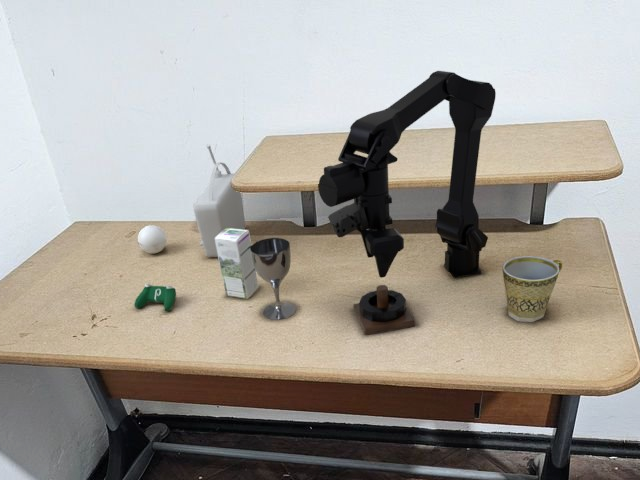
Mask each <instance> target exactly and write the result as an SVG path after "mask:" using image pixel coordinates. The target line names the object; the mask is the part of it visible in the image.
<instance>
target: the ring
mask: <svg viewBox="0 0 640 480" xmlns="http://www.w3.org/2000/svg"><path fill="white" fill-rule="evenodd" d="M358 303H359V308H360V313H361V315H362V316H363V318H365V319H368V320H370V321H374V322H388V321H393V320H397V319H398V318H400V317H401V316H403V315H404V314H405V311H406V306H407V299H406V298H405V296H404V294H403V293H401V292H398V291H396V290H392V289H388V304H391V305H392V306H391V307H386V308H376V307H374V305H375V304H377V290H373V291H372V290H371V291H368V292H367V293H366V294H363V295H362V296H361V298H360V300H359V302H358Z"/></svg>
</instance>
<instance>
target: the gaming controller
mask: <svg viewBox="0 0 640 480" xmlns="http://www.w3.org/2000/svg"><path fill="white" fill-rule="evenodd" d="M176 299H177V290H176V288H175V286H173V285H169V284H167V285H166V286H163V285H153V284H151V283H145V286H144V287H143V289H142V290H141V292H140V293H139V294H138V295H137V297H136V299H135V300H134V307H135V309H141V308H143V307H144V306H146V304H148V303H149V302H150V303H160V304H163V308H164V311H165V312H170V311H171V310H172V308H173V307H174V304H175V302H176Z"/></svg>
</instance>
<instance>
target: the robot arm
mask: <svg viewBox="0 0 640 480" xmlns="http://www.w3.org/2000/svg"><path fill="white" fill-rule="evenodd" d="M496 95H497V93H496V89H495V88H494V87H493V84H491V83H490V82H487V81H479V80H473V79H468V78H465V77H462V76H461V75H459V74H457V73H455V72H452V71H445V70H436V71H434V72H432V73H430V75H429V76H428V78H426V79H425V80H424V81H423V82H421V83H420V84H418V85H417V86H416V87H414V88H413V89H412V90H410V91H409V92H407V93H406V94H405V95H404V96H402V97H401V98H400V99H398V100H397V101H395V102H394V103H392V104H391V105H390V106H389V107H387V108H385V109H383V110H379V111H374V112H370V113H368V114H366V115H364V116H362V117H360V118H358V119H355V121H354V122H353V123H352V124H351V125H350V127H349V129H350V130H349V133H348V136H347V138H346V140H345V141H344V144H343V147H342V149H341V151H340V153H339V156H338V157H337V161H338V162H340V163H337V164H335V165H334V164H333V165H327V166H324V167H323V174H322V175H321V176H320V177H319V181H318V184H317V190H318V194H319V196H320V198H321V201H322V202H323V203H324V204H325V206H327V207H329V208H333V207H335V206H339V205H342V204H344V203H346V202H349V201H353V203H351V204H348V205H345V206H343V207H342V208H340V209H337V210H336V211H333V212H332V213H330V214H329V215H328V217H327V218H328V221H329V222H330V224H331V226H332V228H333V231H334V232H335V234H336V237H337V238H343V237H346V236H347V235H349V234H351V233H352V232H354V231H358V232H359V233H360V236H361V239H362V243H363V246H364V249H365V254H366V255H367V258H373V257H374V259H375V264H376V268H377V272H378V276H379V278H381V279H382V278H385V277H386V276H387V274H388V272H389V270H390V268H391V266H392V264H393V263H394V260H395V259H396V257H397V255H398V254H399V253H400V252H401V251H402V250H404V248H405V239H404V237H403V236H402V234H401V233H400V232H399V230H397V229H395V227H390V228H388V227H387V226H388V225H393V218H392V217H391V215H390V204H393V198H392V196H391V195H390V192H389V191H390V190H389V189H390V188H389V187H390V186H389V165H391V164H394V163H396V162H398V161H399V160H398V159H399V158H398V157H397V156H395V155H394V154H393V153H392V152H391V150H393V148H394V147H395V146H397V145H398V144H399V142H400V141H401V136H402V134H403V132H404V131H406V129H408V128H409V127H410V126H411V125H413V124H415V122H417V121H418V120H420V119H421V118H422V117H423V116H425V115H426V114H427V113H429V112H430V111H431V110H433V109H434V108H436V107H438V105H439V104H441V103H442V102H444V101H446V102H448V112H449V113H448V114H449V116H450V118H451V122H452V124H453V127H454V130H455V131H454V141H453V149H452V151H453V152H452V161H451V171H450V181H449V191H448V199H447V201H446V203H445V204H444V205H443V207H442V208H438V209H437V211H436V222H435V224H434V227H435V228H436V233H437V234H438V235H439V237H440V239H441V243H444V244H446V246H447V247H446V250H445V251H444V263H443V267H444V268H445V270H446V271H447V272H448V274H450V276H451V277H452V278H454V279H456V278H461V277H462V278H463V277H468V276H469V277H470V276H474V275H480V274H482V272H483V271H482V269H481V268H480V252H481V251H482V250H483V248H486V246H487V244H488V239H489V236H487V235H486V233H484V231H482V230H481V229H480V228H479V227H480V226H479V223H480V221H479V218H480V217H479V213H478V210H477V208H476V206H475V203H474V196H475V195H474V194H475V187H476V179H477V171H478V162H479V153H480V146H481V145H480V144H481V136H482V130H483V128H484V127H485V126H486V125H487V123H488V122H489V120H490V118H491V117H492V114H493V110H494V107H495V102H496V97H497V96H496ZM356 152H359V153H361V154H365V155H367V156H363V155H360V154H357V153H356Z"/></svg>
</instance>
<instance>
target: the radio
mask: <svg viewBox="0 0 640 480" xmlns="http://www.w3.org/2000/svg"><path fill="white" fill-rule="evenodd" d="M206 148H207V149H208V152H209V155H210V157H211V160H212V163H213V165H214V166H213V167H212V170H211V172H210V176H209V182H208V183H207V184H206V186H205V188H204V189H203V190H202V191H201V193H199V195H198V196H197V197H196V200H195V201H194V203H193V213H194V217H195V221H196V225H197V228H198V233H199V236H200V239H201V240H200V241H199V245H200V247H202V248H203V250H204V254H205V257H207V258H218V253H217V248H216V244H215V237H216V236H217V235H218V234H219V233H221V232H222V231H223V230H225V229H227V228H231V229H242V230H246V219H245V213H244V203H243V195H242V192H241V193H240V192H236V191H234V190H232V188H231V186H230V182H231V180H232V178H233V176H234V175H235V174H236V173H232V172H231V171H230V169H229V167H228V166H227V164H226V163H225V162H217V161H216V159H215V156H214V153H213V151H212V148H211V144H209V143H207V144H206ZM219 165H221V166H222V167H223V168H224V170H225V172H226V173H222V171H221V170H219Z"/></svg>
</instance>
